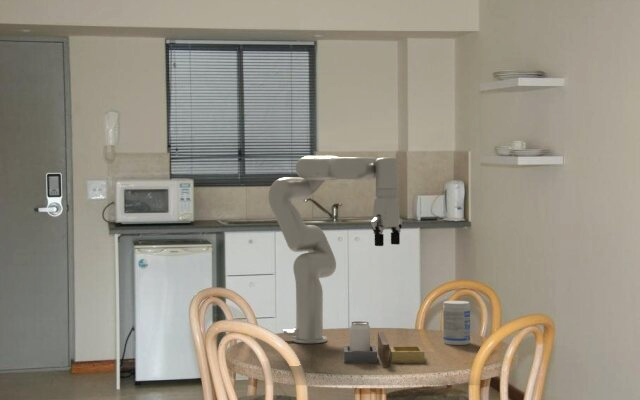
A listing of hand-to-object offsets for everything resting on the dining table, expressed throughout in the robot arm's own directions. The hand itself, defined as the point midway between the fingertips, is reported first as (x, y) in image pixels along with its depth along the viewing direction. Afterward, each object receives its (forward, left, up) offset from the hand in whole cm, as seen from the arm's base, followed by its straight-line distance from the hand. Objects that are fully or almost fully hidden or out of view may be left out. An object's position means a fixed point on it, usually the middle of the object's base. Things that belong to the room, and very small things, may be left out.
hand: (387, 245), depth 327 cm
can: (-10, -15, -36) cm, 40 cm away
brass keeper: (+5, -15, -36) cm, 39 cm away
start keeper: (-10, -15, -36) cm, 40 cm away
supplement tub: (+26, +15, -36) cm, 47 cm away
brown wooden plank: (-2, -15, -36) cm, 39 cm away
